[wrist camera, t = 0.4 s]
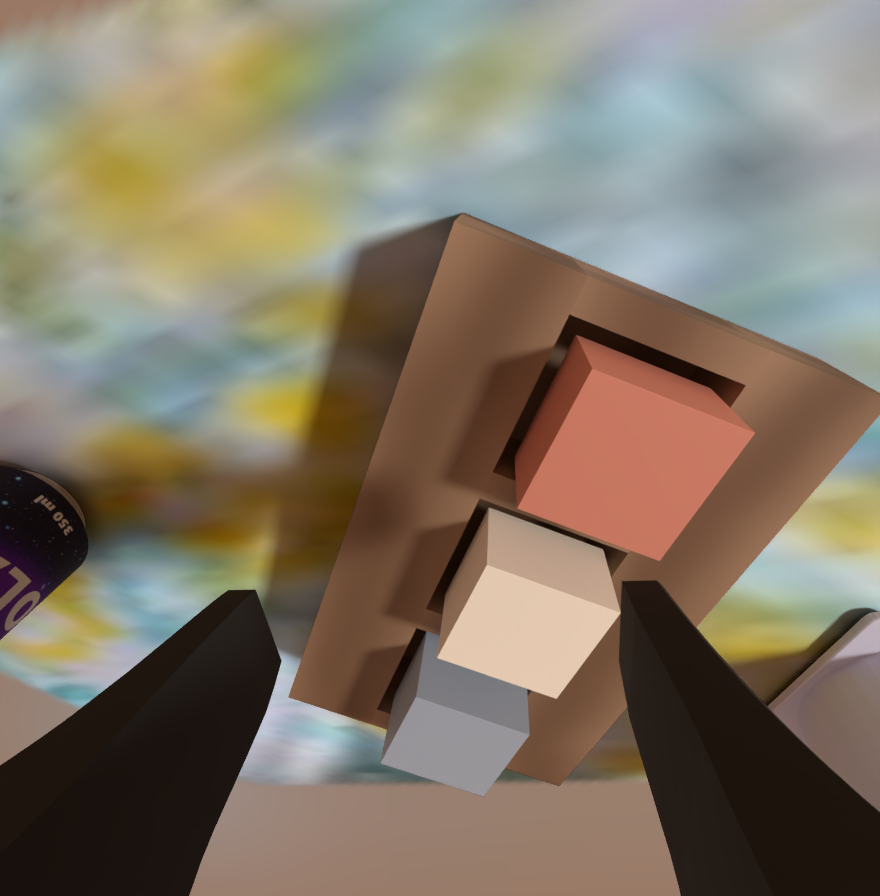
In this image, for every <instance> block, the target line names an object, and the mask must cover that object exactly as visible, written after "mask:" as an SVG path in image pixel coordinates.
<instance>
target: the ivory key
mask: <svg viewBox="0 0 880 896" xmlns="http://www.w3.org/2000/svg"><path fill="white" fill-rule="evenodd" d="M620 613H621V612H620V608H619V605H618V601H617V597H616V594H615V590H614V587H613V583H612V579H611V576H610V572H609V569H608V565H607V561H606V558H605V554H604V551H603V549H601V548H598V547H595V546H593V545H590V544H587V543H584V542H582V541H579V540H576V539H574V538H571V537H568V536H565V535H563V534H560V533H557V532H554V531H552V530H549V529H546V528H544V527H541V526H538V525H535V524H533V523H530V522H527V521H525V520H522V519H519V518H516V517H514V516H511V515H508V514H506V513H503V512H500V511H497V510H495V509H492V508H488V510H487V512H486V514H485V516H484V518H483V520H482V522H481V524H480V526H479V528H478V530H477V532H476V534H475V536H474V538H473V540H472V542H471V544H470V546H469V548H468V550H467V552H466V554H465V556H464V558H463V560H462V562H461V564H460V566H459V568H458V570H457V572H456V574H455V576H454V578H453V580H452V582H451V584H450V586H449V588H448V590H447V592H446V594H445V601H444V608H443V616H442V623H441V631H440V639H439V646H438V654H437V658H438V659H441V660H444V661H447V662H450V663H453V664H456V665H459V666H462V667H465V668H468V669H471V670H474V671H477V672H479V673H482V674H485V675H488V676H491V677H494V678H497V679H500V680H503V681H506V682H509V683H512V684H515V685H517V686H520V687H523V688H526V689H529V690H532V691H535V692H538V693H541V694H544V695H547V696H550V697H553V698H555V699H557V698H558V696H559V695H560V694H561V692H562V691H563V690H564V688H565V687H566V686H567V684H568V683H569V682H570V680H571V679H572V678H573V676H574V675H575V674H576V672H577V671H578V670H579V668H580V667H581V666H582V664H583V663H584V661H585V660H586V659H587V657H588V656H589V655H590V653H591V652H592V651H593V649H594V648H595V647H596V645H597V644H598V643H599V641H600V640H601V639H602V637H603V636H604V635H605V633H606V632H607V631H608V629H609V628H610V627H611V625H612V624H613V623H614V621H615V620H616V619H617V617H618V616H619V615H620Z"/></svg>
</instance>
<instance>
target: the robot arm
mask: <svg viewBox="0 0 880 896" xmlns="http://www.w3.org/2000/svg"><path fill="white" fill-rule="evenodd" d="M280 664H281V658H280V656H279V653H278V650H277V647H276V645H275V642H274V639H273V636H272V634H271V631H270V628H269V625H268V623H267V620H266V617H265V615H264V612H263V609H262V606H261V604H260V601H259V598H258V595H257V593H256V590H228V591H227V592H225V593H224V594H223V595H221V596H220V597H219V598H217V599H216V600H215V601H213V602H212V603H211V604H210V605H208V606H207V607H206V608H205V609H203V610H202V611H201V612H200V613H199V614H197V615H196V616H195V617H194V618H193V619H191V620H190V621H189V622H188V623H187V624H185V625H184V626H183V627H182V628H181V629H179V630H178V631H177V632H176V633H175V634H173V635H172V636H171V637H170V638H169V639H167V640H166V641H165V642H164V643H163V644H161V645H160V646H159V647H158V648H156V649H155V650H154V651H153V652H152V653H150V654H149V655H148V656H147V657H146V658H144V659H143V660H142V661H141V662H140V663H138V664H137V665H136V666H135V667H133V668H132V669H131V670H130V671H129V672H127V673H126V674H125V675H123V676H122V677H121V678H120V679H118V680H117V681H116V682H114V683H113V684H112V685H111V686H109V687H108V688H107V689H105V690H104V691H103V692H101V693H100V694H99V695H98V696H96V697H95V698H94V699H92V700H91V701H90V702H89V703H87V704H86V705H85V706H83V707H82V708H81V709H80V710H78V711H77V712H76V713H74V714H73V715H72V716H70V717H69V718H68V719H66V720H65V721H64V722H62V723H61V724H60V725H58V726H57V727H55V728H54V729H53V730H51V731H50V732H48V733H47V734H46V735H44V736H43V737H41V738H40V739H39V740H37V741H36V742H34V743H33V744H31V745H30V746H28V747H27V748H25V749H24V750H23V751H21V752H20V753H18V754H17V755H15V756H14V757H12V758H11V759H9V760H8V761H6V762H5V763H3V764H2V765H0V896H189V894H190V892H191V889H192V886H193V883H194V880H195V877H196V874H197V872H198V869H199V866H200V863H201V860H202V858H203V855H204V853H205V850H206V848H207V845H208V843H209V840H210V838H211V836H212V833H213V831H214V828H215V826H216V824H217V822H218V819H219V817H220V815H221V812H222V810H223V808H224V806H225V804H226V801H227V799H228V797H229V795H230V792H231V790H232V788H233V786H234V784H235V781H236V779H237V777H238V775H239V772H240V770H241V768H242V766H243V764H244V761H245V759H246V757H247V755H248V752H249V750H250V748H251V746H252V743H253V741H254V739H255V736H256V734H257V732H258V729H259V727H260V725H261V723H262V720H263V718H264V715H265V713H266V711H267V707H268V704H269V701H270V698H271V695H272V692H273V689H274V685H275V682H276V678H277V675H278V671H279V668H280ZM619 665H620V670H621V676H622V681H623V687H624V692H625V697H626V702H627V707H628V713H629V717H630V721H631V724H632V728H633V731H634V734H635V738H636V741H637V745H638V748H639V751H640V755H641V758H642V761H643V765H644V768H645V772H646V775H647V778H648V782H649V785H650V788H651V791H652V795H653V798H654V801H655V805H656V808H657V811H658V815H659V818H660V822H661V825H662V828H663V832H664V835H665V838H666V841H667V845H668V848H669V851H670V855H671V859H672V862H673V866H674V870H675V874H676V878H677V881H678V885H679V889H680V894H681V896H880V612H872V613H869V614H867V615H865V616H864V617H863V618H862V619H860V620H859V621H858V622H857V623H856V624H855V625H854V626H853V627H852V628H851V629H850V630H849V631H848V632H847V633H845V634H844V635H843V636H842V637H841V638H840V639H839V640H838V641H837V642H836V643H835V644H834V645H833V646H832V647H830V648H829V649H828V650H827V651H826V652H825V653H824V654H823V655H822V656H821V657H820V658H819V659H818V660H817V661H815V662H814V663H813V664H812V665H811V666H810V667H809V668H808V669H807V670H806V671H805V672H804V673H803V674H801V675H800V676H799V677H798V678H797V679H796V680H795V681H794V682H793V683H792V684H791V685H790V686H789V687H788V688H786V689H785V690H784V691H783V692H782V693H781V694H780V695H779V696H778V697H777V698H776V699H775V700H774V701H773V702H771V703H770V704H769V705H768V706H766V705H765V704H764V703H763V702H762V701H761V699H760V698H759V697H758V696H757V695H756V694H755V693H754V692H753V691H752V690H751V689H750V688H749V687H748V686H747V685H746V684H745V683H744V681H743V680H742V679H741V678H740V677H739V676H738V675H737V674H736V673H735V671H734V670H733V669H732V668H731V667H730V666H729V665H728V664H727V663H726V662H725V660H724V659H723V658H722V657H721V656H720V655H719V654H718V653H717V652H716V650H715V649H714V648H713V647H712V646H711V645H710V643H709V642H708V641H707V640H706V639H705V638H704V636H703V635H702V634H701V633H700V632H699V630H698V629H697V628H696V627H695V626H694V624H693V623H692V622H691V621H690V620H689V618H688V617H687V616H686V615H685V613H684V612H683V611H682V610H681V608H680V607H679V606H678V605H677V603H676V602H675V601H674V600H673V598H672V597H671V596H670V594H669V593H668V592H667V591H666V589H665V588H664V587H663V585H662V584H660V583H659V582H658V581H657V580H645V581H622V588H621V614H620V641H619Z"/></svg>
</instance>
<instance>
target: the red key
mask: <svg viewBox="0 0 880 896" xmlns="http://www.w3.org/2000/svg"><path fill="white" fill-rule="evenodd" d="M754 434H755V432H754V431H753V430H752V429H751V428H750V427H749V426H748V425H747V424H746V423H745V422H744V421H743V420H742V419H741V418H740V417H739V416H738V415H737V414H736V413H735V412H734V411H733V410H732V409H731V408H730V407H729V406H728V405H727V404H726V403H725V402H724V401H723V400H722V399H721V398H720V397H719V396H718V395H717V394H716V393H715V392H714V391H713V390H712V389H711V388H708V387H706V386H703V385H701V384H698V383H696V382H693V381H691V380H688V379H686V378H683V377H681V376H678V375H676V374H673V373H671V372H668V371H666V370H663V369H661V368H658V367H656V366H653V365H651V364H648V363H646V362H643V361H641V360H638V359H636V358H633V357H631V356H628V355H626V354H623V353H621V352H618V351H616V350H613V349H611V348H608V347H606V346H603V345H601V344H598V343H596V342H593V341H591V340H588V339H586V338H583V337H581V336H578V335H575V337H574V339H573V341H572V343H571V345H570V347H569V349H568V351H567V353H566V355H565V357H564V359H563V361H562V363H561V365H560V367H559V369H558V371H557V373H556V375H555V377H554V379H553V381H552V383H551V385H550V387H549V389H548V391H547V393H546V395H545V397H544V399H543V401H542V403H541V405H540V407H539V409H538V411H537V413H536V415H535V417H534V419H533V421H532V423H531V425H530V427H529V429H528V431H527V433H526V435H525V437H524V439H523V441H522V443H521V445H520V447H519V449H518V451H517V453H516V455H515V476H516V495H517V509H520V510H522V511H525V512H528V513H531V514H533V515H536V516H539V517H541V518H544V519H547V520H550V521H552V522H555V523H558V524H560V525H563V526H566V527H569V528H571V529H574V530H577V531H579V532H582V533H585V534H587V535H590V536H593V537H596V538H598V539H601V540H604V541H606V542H609V543H612V544H615V545H617V546H620V547H623V548H625V549H628V550H631V551H634V552H636V553H639V554H642V555H644V556H647V557H650V558H653V559H655V560H658V561H660V560H661V558H662V557H663V556H664V554H665V553H666V552H667V550H668V549H669V548H670V546H671V545H672V544H673V542H674V541H675V540H676V538H677V537H678V536H679V534H680V533H681V532H682V530H683V529H684V528H685V526H686V525H687V524H688V522H689V521H690V520H691V518H692V517H693V516H694V514H695V513H696V512H697V510H698V509H699V508H700V506H701V505H702V504H703V502H704V501H705V500H706V498H707V497H708V496H709V494H710V493H711V492H712V490H713V489H714V488H715V486H716V485H717V484H718V482H719V481H720V480H721V478H722V477H723V476H724V474H725V473H726V472H727V470H728V469H729V467H730V466H731V465H732V463H733V462H734V461H735V459H736V458H737V457H738V455H739V454H740V453H741V451H742V450H743V449H744V447H745V446H746V445H747V443H748V442H749V441H750V439H751V438H752V437H753V435H754Z"/></svg>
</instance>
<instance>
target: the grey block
mask: <svg viewBox="0 0 880 896" xmlns="http://www.w3.org/2000/svg"><path fill="white" fill-rule="evenodd" d="M439 639H440V636H439V635H436V634H433V633H430V632H427V631H426V633H425V635H424V637H423V639H422V641H421V643H420V645H419V647H418V649H417V651H416V653H415V655H414V657H413V659H412V661H411V663H410V665H409V667H408V669H407V671H406V673H405V675H404V677H403V679H402V681H401V683H400V685H399V687H398V689H397V691H396V693H395V695H394V699H393V704H392V709H391V714H390V719H389V724H388V728H387V733H386V738H385V743H384V748H383V753H382V758H381V764H384V765H387V766H390V767H393V768H396V769H400V770H403V771H406V772H409V773H412V774H415V775H418V776H421V777H424V778H427V779H430V780H434V781H437V782H440V783H443V784H446V785H449V786H452V787H455V788H458V789H461V790H464V791H468V792H471V793H474V794H477V795H480V796H484V795H485V794H486V792H487V791H488V790H489V789H490V787H491V786H492V785H493V783H494V782H495V781H496V779H497V778H498V777H499V775H500V774H501V773H502V771H503V770H504V769H505V767H506V766H507V765H508V763H509V762H510V760H511V759H512V758H513V756H514V755H515V754H516V752H517V751H518V750H519V748H520V747H521V746H522V744H523V743H524V742H525V740H526V739H527V738H528V736H529V735H530V733H529V715H528V696H527V689H526V688H523V687H520V686H517V685H515V684H512V683H509V682H506V681H503V680H500V679H497V678H494V677H491V676H488V675H485V674H482V673H479V672H477V671H474V670H471V669H468V668H465V667H462V666H459V665H456V664H453V663H450V662H447V661H444V660H441V659H438V658H437V654H438V646H439Z"/></svg>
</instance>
